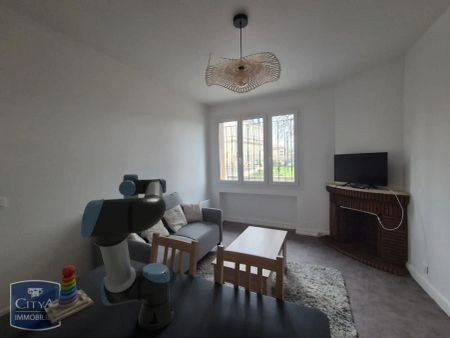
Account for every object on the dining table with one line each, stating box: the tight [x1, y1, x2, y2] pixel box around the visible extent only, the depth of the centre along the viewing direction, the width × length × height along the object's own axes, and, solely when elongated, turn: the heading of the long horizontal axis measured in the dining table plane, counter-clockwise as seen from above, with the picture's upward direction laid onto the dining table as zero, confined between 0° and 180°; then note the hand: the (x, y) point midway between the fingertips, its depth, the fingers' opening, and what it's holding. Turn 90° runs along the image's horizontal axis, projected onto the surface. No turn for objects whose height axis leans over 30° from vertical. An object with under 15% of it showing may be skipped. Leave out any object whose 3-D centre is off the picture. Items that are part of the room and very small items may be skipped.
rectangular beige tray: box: [42, 289, 94, 326], centre depth 101 cm, size 16×16×2 cm
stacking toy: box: [58, 264, 78, 309], centre depth 100 cm, size 8×8×19 cm
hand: (131, 240), depth 115 cm, fingers open, 13 cm apart
